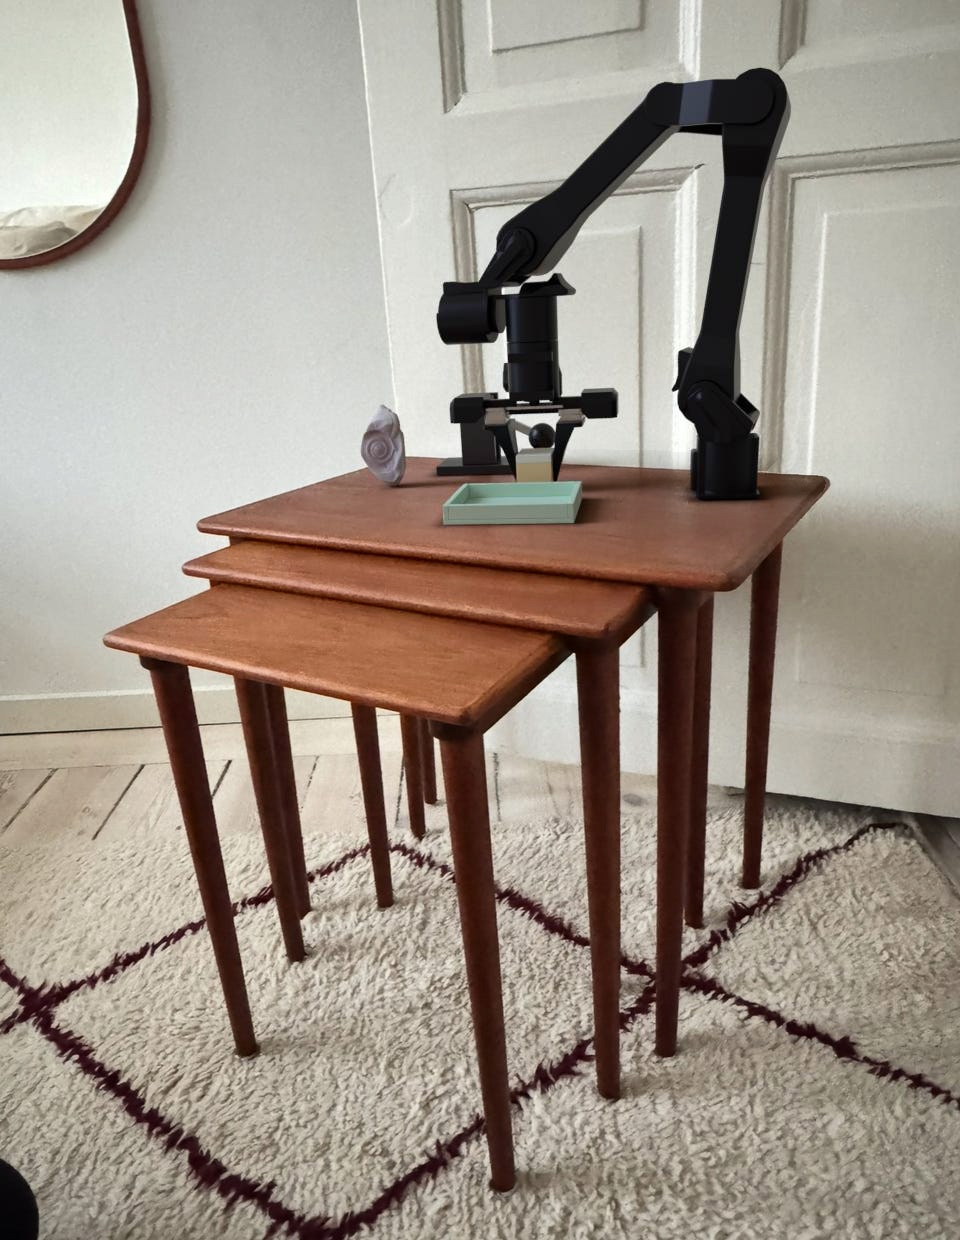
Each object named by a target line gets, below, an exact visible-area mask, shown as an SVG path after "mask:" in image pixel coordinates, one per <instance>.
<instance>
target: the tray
mask: <svg viewBox="0 0 960 1240" xmlns="http://www.w3.org/2000/svg"><path fill="white" fill-rule="evenodd" d="M582 500H583V482H582V480H579V481H577V480H576V481H575V480H574V481H557V482H521V483H517V482H481V483H479V482H478V483H475V482H473V483H463V484H462V485H461V486H460V487H459V488H458V489H457V490H456V491H455V492H454V493H453V494H452V495H451V497H449V498H448V499H447V500H446V501H445V502H444V503H443V505H442V515H443V517H442V519H443V525H446V526H449V525H451V526H454V525H455V526H456V525H457V526H458V525H459V526H460V525H464V526H465V525H531V524H532V525H535V524H536V525H538V524H539V525H540V524H541V525H542V524H547V525H549V524H574V523H575V521H576V518H577V515H578V512H579V509H580V506H581V503H582Z"/></svg>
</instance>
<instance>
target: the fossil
mask: <svg viewBox="0 0 960 1240" xmlns="http://www.w3.org/2000/svg"><path fill="white" fill-rule="evenodd" d="M405 442H406V441H405V434H404V432H403V431H402V429H401V422H400V419H399V416H398V414H397V413H395V412H393V411H392V409H391V408H388V407H387V406H386V405H384V404H380V405H379V406H378V408H377V410H376V413H374V415H373V416H372V417H371V419H370V421H368V424H367V426H366V427H365V431H364V433H363V435H362V439H361V442H360V443H361V444H360V456H361V458H362V460H363V461H364V463H365V465H366V466H367V467H368V469H369V470H370V472H371V473H372V474H373V475H374V476H375V477H376V478H377V479H378V480H379V481H381V482H383V483H384V484H386V485H387V486H390V487H397V486H399V485H400V484H401V481H402V480H403V478H404V477H405V472H406V469H407V458H406V457H407V456H406V445H405Z"/></svg>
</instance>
